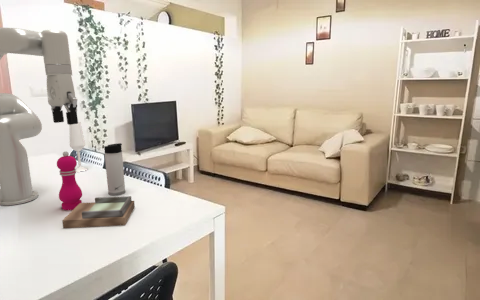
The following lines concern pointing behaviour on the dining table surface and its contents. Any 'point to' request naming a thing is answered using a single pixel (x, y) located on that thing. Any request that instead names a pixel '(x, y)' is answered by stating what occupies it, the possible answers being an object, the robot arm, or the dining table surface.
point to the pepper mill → (68, 182)
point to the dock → (100, 213)
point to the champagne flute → (77, 142)
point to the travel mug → (114, 169)
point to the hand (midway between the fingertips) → (65, 123)
